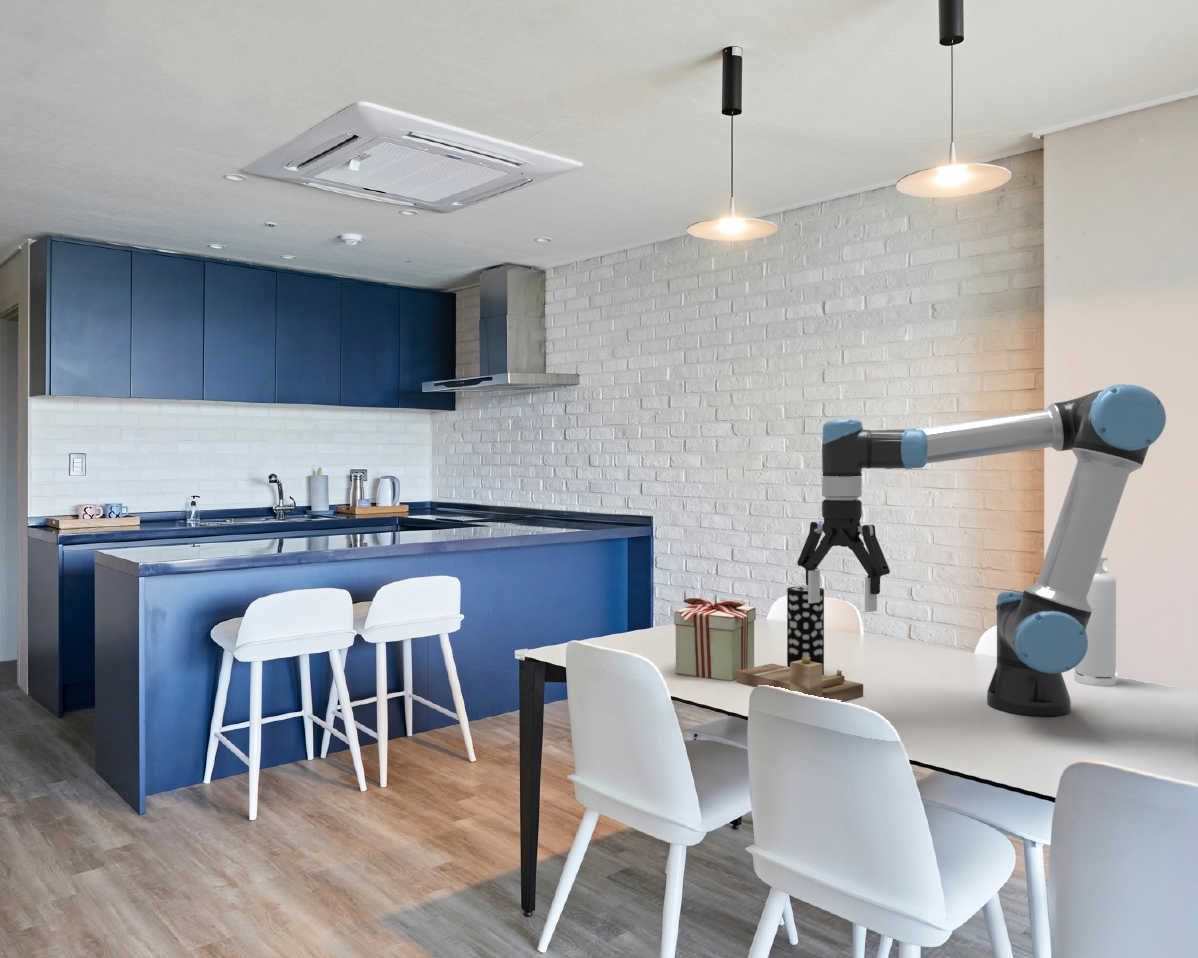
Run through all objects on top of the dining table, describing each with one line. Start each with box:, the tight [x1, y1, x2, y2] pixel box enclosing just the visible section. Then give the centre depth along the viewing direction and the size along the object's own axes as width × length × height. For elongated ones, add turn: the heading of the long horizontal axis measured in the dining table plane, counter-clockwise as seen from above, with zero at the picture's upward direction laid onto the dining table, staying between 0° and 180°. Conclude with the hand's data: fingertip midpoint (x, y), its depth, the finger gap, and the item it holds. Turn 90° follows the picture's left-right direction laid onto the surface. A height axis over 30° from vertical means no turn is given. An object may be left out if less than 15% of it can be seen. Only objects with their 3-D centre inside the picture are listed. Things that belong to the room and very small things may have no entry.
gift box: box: [673, 597, 757, 682], centre depth 209 cm, size 17×18×17 cm
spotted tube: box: [786, 586, 825, 675], centre depth 206 cm, size 8×8×20 cm
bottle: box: [1073, 555, 1117, 687], centre depth 199 cm, size 8×8×28 cm
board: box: [736, 663, 864, 702], centre depth 193 cm, size 25×12×3 cm, turn 38°
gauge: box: [790, 656, 846, 697], centre depth 184 cm, size 5×13×9 cm, turn 128°
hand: (841, 606), depth 175 cm, fingers open, 13 cm apart
